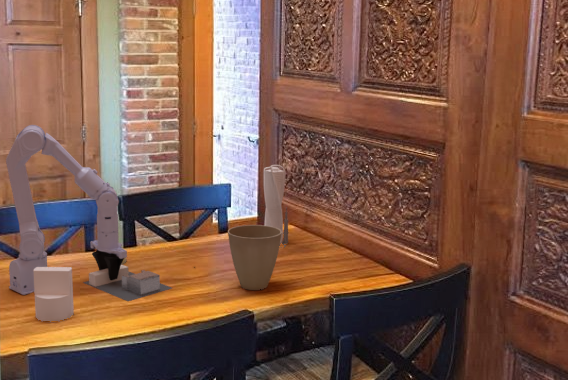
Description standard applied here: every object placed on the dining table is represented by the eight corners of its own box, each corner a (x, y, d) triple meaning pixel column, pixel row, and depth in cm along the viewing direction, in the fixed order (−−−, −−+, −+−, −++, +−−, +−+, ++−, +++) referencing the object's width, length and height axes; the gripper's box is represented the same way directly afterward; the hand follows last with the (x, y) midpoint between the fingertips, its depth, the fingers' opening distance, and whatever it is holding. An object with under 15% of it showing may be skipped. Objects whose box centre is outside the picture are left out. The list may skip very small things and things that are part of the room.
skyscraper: (283, 249, 247) (284, 166, 242) (259, 247, 249) (260, 164, 244) (288, 243, 256) (290, 161, 250) (265, 241, 257) (267, 160, 252)
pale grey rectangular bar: (95, 286, 206) (95, 275, 205) (89, 284, 208) (88, 273, 207) (128, 277, 214) (128, 267, 213) (122, 275, 216) (122, 264, 215)
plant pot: (291, 287, 210) (292, 232, 207) (250, 298, 200) (250, 241, 197) (257, 274, 221) (258, 221, 218) (216, 284, 211) (217, 229, 208)
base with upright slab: (77, 308, 191) (75, 263, 188) (68, 322, 182) (66, 274, 179) (41, 308, 190) (39, 263, 188) (31, 322, 181) (28, 274, 179)
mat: (128, 302, 195) (128, 301, 195) (82, 283, 209) (82, 282, 209) (173, 289, 206) (173, 287, 206) (127, 272, 220) (127, 270, 220)
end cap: (138, 296, 199) (138, 280, 198) (121, 289, 204) (121, 273, 203) (161, 289, 205) (161, 274, 204) (143, 283, 210) (143, 268, 209)
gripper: (135, 233, 206) (136, 280, 209) (104, 223, 216) (106, 268, 218) (114, 237, 201) (115, 286, 204) (83, 227, 210) (85, 274, 213)
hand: (109, 277), depth 211 cm, fingers open, 4 cm apart
